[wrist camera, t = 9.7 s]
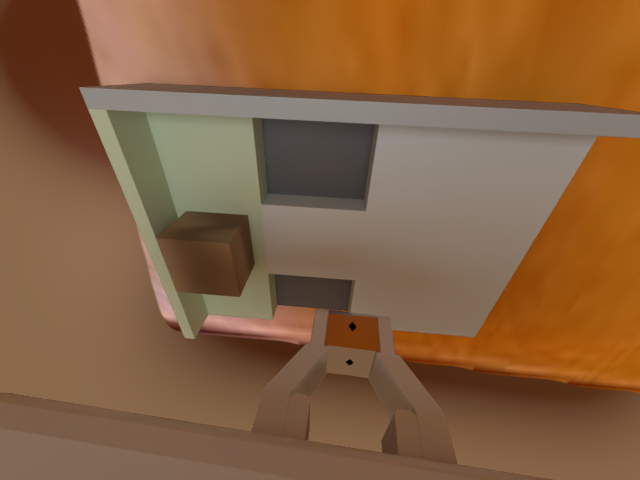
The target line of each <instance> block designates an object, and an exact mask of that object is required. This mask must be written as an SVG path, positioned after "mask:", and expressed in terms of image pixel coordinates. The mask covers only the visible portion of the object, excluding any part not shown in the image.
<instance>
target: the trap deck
mask: <svg viewBox="0 0 640 480" xmlns="http://www.w3.org/2000/svg"><path fill="white" fill-rule="evenodd" d="M79 88H80V91H81V93H82V96H83V98H84V100H85V103H86V105H87V107H88V110H89V112H90V115H91V117H92V119H93V121H94V124H95V126H96V129H97V131H98V133H99V136H100V138H101V141H102V143H103V145H104V148H105V150H106V152H107V155H108V157H109V159H110V162H111V164H112V167H113V169H114V171H115V174H116V176H117V178H118V181H119V183H120V186H121V188H122V190H123V193H124V195H125V197H126V200H127V202H128V204H129V207H130V209H131V212H132V214H133V216H134V219H135V221H136V223H137V226H138V228H139V231H140V233H141V235H142V238H143V240H144V242H145V245H146V247H147V249H148V252H149V254H150V257H151V259H152V261H153V264H154V266H155V268H156V271H157V273H158V276H159V278H160V280H161V283H162V285H163V287H164V290H165V292H166V294H167V297H168V299H169V302H170V304H171V306H172V309H173V311H174V313H175V316H176V318H177V321H178V323H179V325H180V328H181V330H182V332H183V335H184V337H185V338H193V339H195V337H196V335H197V334H198V332H199V330H200V328H201V327H202V325H203V323H204V321H205V319H206V318H207V316H208V314H211V315H223V316H234V317H246V318H258V319H269V320H273V317H274V314H275V310H276V307H277V305H287V306H298V307H310V308H322V309H334V310H346V311H348V313H360V314H370V315H376V316H386V317H390V319H391V326H392V330H396V331H408V332H419V333H431V334H442V335H454V336H465V337H475V336H476V335H477V333H478V331H479V330H480V328H481V327H482V325H483V323H484V322H485V320H486V318H487V317H488V315H489V313H490V312H491V310H492V309H493V307H494V305H495V304H496V302H497V300H498V299H499V297H500V295H501V294H502V292H503V291H504V289H505V287H506V286H507V284H508V282H509V281H510V279H511V277H512V276H513V274H514V273H515V271H516V269H517V268H518V266H519V264H520V263H521V261H522V259H523V258H524V256H525V255H526V253H527V251H528V250H529V248H530V246H531V245H532V243H533V241H534V240H535V238H536V237H537V235H538V233H539V232H540V230H541V228H542V227H543V225H544V223H545V222H546V220H547V219H548V217H549V215H550V214H551V212H552V210H553V209H554V207H555V205H556V204H557V202H558V201H559V199H560V197H561V196H562V194H563V192H564V191H565V189H566V187H567V186H568V184H569V183H570V181H571V179H572V178H573V176H574V174H575V173H576V171H577V169H578V168H579V166H580V165H581V163H582V161H583V160H584V158H585V156H586V155H587V153H588V151H589V150H590V148H591V147H592V145H593V143H594V142H595V140H596V138H597V137H598V136H610V137H629V138H640V112H636V111H629V110H621V109H614V108H607V107H600V106H592V105H585V104H573V103H552V102H531V101H510V100H489V99H468V98H447V97H426V96H405V95H384V94H363V93H342V92H321V91H300V90H279V89H258V88H237V87H216V86H195V85H174V84H154V83H142V84H126V85H109V86H94V87H79ZM186 211H196V212H211V213H226V214H240V215H248V219H249V226H250V233H251V240H252V248H253V255H254V262H255V265H254V267H253V269H252V271H251V274H250V276H249V278H248V280H247V282H246V285H245V287H244V289H243V291H242V293H241V296H240V297H232V296H220V295H208V294H196V293H184V292H176V289H175V287H174V284H173V282H172V279H171V276H170V274H169V271H168V269H167V266H166V264H165V261H164V259H163V256H162V253H161V251H160V248H159V246H158V243H157V241H156V237H158V236H159V235H160V234H161V233H162V232H163V231H164V230H165V229H167V228H168V227H169V226H170V225H171V224H172V223H173V222H174V221H175V220H177V219H178V218H179V217H180V216H181V215H182V214H183V213H184V212H186Z"/></svg>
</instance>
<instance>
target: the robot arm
mask: <svg viewBox="0 0 640 480" xmlns="http://www.w3.org/2000/svg"><path fill="white" fill-rule="evenodd" d="M328 312H329V313H328ZM326 373H335V374H343V375H351V376H358V377H363V378H369V381H370V383H371V385H372V387H373V388H374V390H375V392H376V394H377V396H378V398H379V400H380V402H381V403H382V405H383V407H384V409H385V411H386V413H387V415H388V417H389V419H390V420H391V421H390V424H389V425H388V428H387V430H386V432H385V434H384V436H383V439H382V452H376V451H370V450H363V449H357V448H351V447H345V446H338V445H332V444H326V443H320V442H313V441H308V438H309V430H310V429H309V428H310V399H309V398H310V396H311V395H312V393H313V392H314V391H315V389H316V388H317V386H318V385H319V384H320V382H321V381H322V379H323V378H324V376H325V375H326ZM0 480H552V479H545V478H539V477H533V476H527V475H520V474H514V473H508V472H501V471H495V470H489V469H483V468H476V467H469V466H464V465H458V464H457V460H456V456H455V453H454V448H453V445H452V441H451V437H450V433H449V429H448V425H447V421H446V417H445V414H444V413H443V411H442V410H441V409H440V407H439V406H438V405H437V403H436V402H435V401H434V400H433V399H432V397H431V396H430V394H429V393H428V392H427V390H426V389H425V388H424V387H423V385H422V384H421V383H420V381H418V379H417V378H416V376H415V375H414V374H413V372H412V371H411V370H410V369H409V367H408V366H407V364H406V363H405V362H404V361H403V359H402V358H401V357H400V355H395V348H394V340H393V333H392V326H391V319H390V317H386V316H376V315H370V314H360V313H348V312H341V311H334V310H326V309H319V308H317V309H316V312H315V317H314V323H313V329H312V335H311V341H310V344H309V343H306V344H305V345H304V346H303V347H302V348H301V350H300V351H299V352H298V353H297V354H296V355H295V356H294V357H293V358H292V359H291V360H290V361H289V362H288V363H287V365H285V366H284V367H283V369H282V370H281V371H280V372H279V373H278V374H277V375H276V376H275V377H274V378H273V379H272V380H271V381H270V382H269V383H268V384H267V386H266V387H265V388H264V390H263V394H262V397H261V401H260V404H259V407H258V411H257V414H256V418H255V421H254V424H253V428H252V431H251V432H250V431H244V430H238V429H232V428H225V427H218V426H213V425H206V424H199V423H193V422H187V421H181V420H175V419H169V418H162V417H156V416H150V415H143V414H137V413H130V412H125V411H118V410H112V409H106V408H99V407H93V406H86V405H80V404H74V403H68V402H61V401H55V400H48V399H42V398H36V397H30V396H24V395H18V394H13V393H0Z"/></svg>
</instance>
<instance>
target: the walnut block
mask: <svg viewBox="0 0 640 480" xmlns="http://www.w3.org/2000/svg"><path fill="white" fill-rule="evenodd" d="M156 241H157V243H158V246H159V248H160V251H161V253H162V256H163V259H164V261H165V264H166V266H167V269H168V271H169V274H170V276H171V279H172V282H173V284H174V287H175V289H176V292H184V293H196V294H208V295H220V296H232V297H240V296H241V293H242V291H243V289H244V287H245V285H246V282H247V280H248V278H249V276H250V274H251V271H252V269H253V267H254V265H255V262H254V255H253V248H252V240H251V233H250V226H249V219H248V215H240V214H226V213H211V212H196V211H186V212H184V213H183V214H182V215H181V216H180V217H179V218H178V219H177V220H175V221H174V222H173V223H172V224H171V225H170V226H169V227H168V228H167V229H165V230H164V231H163V232H162V233H161V234H160V235H159V236H158V237H156Z"/></svg>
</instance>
